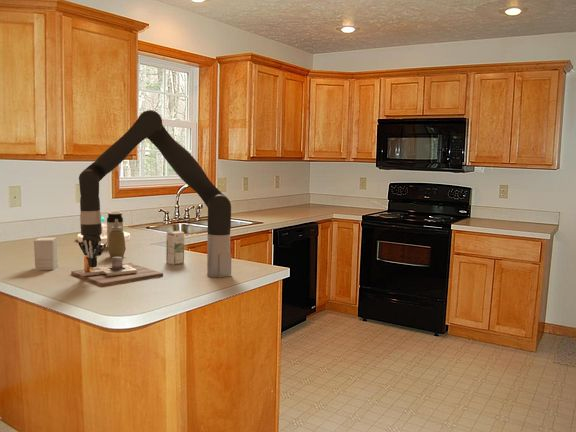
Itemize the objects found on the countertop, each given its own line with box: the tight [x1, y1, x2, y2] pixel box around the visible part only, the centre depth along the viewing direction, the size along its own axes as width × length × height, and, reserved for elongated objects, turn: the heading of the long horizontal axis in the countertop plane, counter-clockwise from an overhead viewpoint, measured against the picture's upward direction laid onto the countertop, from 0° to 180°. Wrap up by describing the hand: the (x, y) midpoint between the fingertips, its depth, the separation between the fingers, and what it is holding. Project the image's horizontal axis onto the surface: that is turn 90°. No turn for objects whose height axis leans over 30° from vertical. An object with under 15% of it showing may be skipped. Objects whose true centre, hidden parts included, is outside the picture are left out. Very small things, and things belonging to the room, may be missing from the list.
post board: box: [70, 257, 164, 288], centre depth 209 cm, size 26×26×7 cm
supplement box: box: [33, 237, 59, 271], centre depth 217 cm, size 7×7×13 cm
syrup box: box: [165, 230, 185, 265], centre depth 234 cm, size 6×6×14 cm
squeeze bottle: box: [107, 219, 127, 258], centre depth 244 cm, size 8×8×18 cm
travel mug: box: [106, 211, 124, 247], centre depth 272 cm, size 8×8×18 cm
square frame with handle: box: [83, 255, 137, 276], centre depth 207 cm, size 19×12×7 cm, turn 126°
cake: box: [77, 222, 131, 245], centre depth 293 cm, size 28×28×10 cm
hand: (93, 267), depth 199 cm, fingers closed
